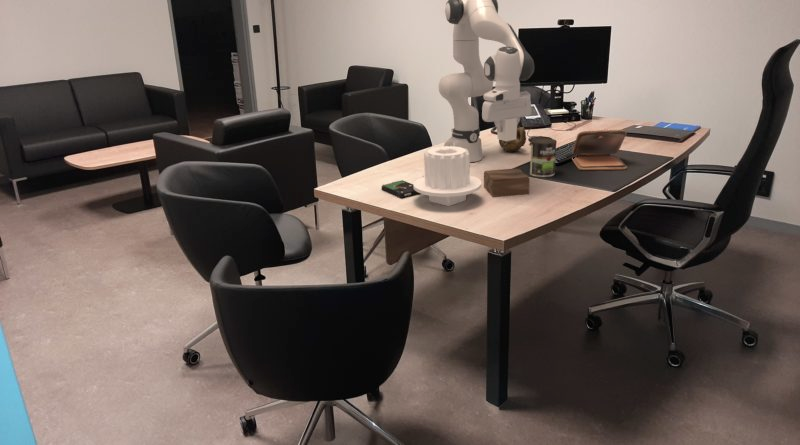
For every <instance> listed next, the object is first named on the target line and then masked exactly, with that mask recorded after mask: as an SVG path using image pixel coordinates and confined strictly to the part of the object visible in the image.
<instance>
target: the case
mask: <svg viewBox="0 0 800 445" xmlns="http://www.w3.org/2000/svg"><path fill="white" fill-rule="evenodd" d="M627 133H628V132H627V130H625V129H609V130H608V129H607V130H606V129H605V130H604V129H601V130H583V131H579V133H577V134H576V135H577V136H576V138H575V140H574V141H575V142H574V143H573V146H572V149H571V150H572V151H571V153H572V155H576V154H577V155H576V156H574V157H575V158H574V159H573V157H571V160H572V162H573V163H574V165H575V167H576V168H577V169H578V170H580V171H625V170H627V169H628V166H627V165H626V164H625V163H624V162H623V161H622V159H620V157H618V156H617V155H614V154H617V153H618V152H619V151H620V149H621V146H622V144H623V142H624V140H625V138H626V136H627ZM577 156H578V157H577Z"/></svg>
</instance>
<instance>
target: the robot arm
mask: <svg viewBox="0 0 800 445" xmlns="http://www.w3.org/2000/svg"><path fill="white" fill-rule="evenodd" d="M498 13H499V4H498V0H447V2H446V3H445V8H444V14H445V17H446V18H445V19H446V21H447V22H448V23H449V24H451V25H453V30H452V31H453V33H452V47H453V48H452V55H453V56H452V57H453V59H454V60H455V62H457V63H458V64H460V65H462V67H463V69H464V70H463V71H464V72H459V73H458V72H457V73H456V72H455V73H450V74H447V75H445V76H442V77H441V78H440V80H439V82H438V91H439V94H440V95H441V97H442V98H443V99H445V100H446V101H447V102H448V104H449V105H450V107H451V109H452V115H453V128H451V132H452V133H451V137H450V138H448V139H447V140H446V141H445V142H444V144H443V147H444V146H453V147H461V148H464V149H467V150H468V151H469V154H470V163H473V162H479V161H481V160H483V158H484V157H485V153H483V148H482V147H483V146H482V139H481V138H480V134H481V132H480V131H481V130H480V126H479V125H480V122H479V121H480V120H479V119H480V118H479V111H478V109H477V108H476V107H475V106H472V105H470V103H469V98H477V97H481V96H483V100H484V102H483V103H482V107H481V110H482V112H481V117H482V120H483V121H484V122H486V123H494V126H495V128H496V132H497V133H498V132H503V127H501V126H500V124H499V123H501V120H504V119H510V118H517V126H518V125H519V123H520V121H521V118H525V117H530V116H531V115H532V101H531V94H530V92H529V91H528V90H524V91H521V82H520V81H523V82H525V81H527V80H529V79H530V78H531V77H532V75H533V74H534V72H535V62H534V59H533V58H532V56H531V55H530V54H529V53H528V51H527V50H526V48H525V47H524V45H523V44H522V42H521V40H520V38H519V36H518V35H517V33H516V31H515V30H514V28H513V27H512V25H511V24H509V23H508V22H506V21H505V20H504V19H503V18H501V16H500V14H498ZM479 38H480V39H483V40H488V41H494V42H497V43H500V44H502V45H505V46H501V47H499V48H498V49H497V51H496V53H495V54H494V55H491V56H488V58H486V60H485V61H484V62H483V63H484V64H483V65H482V61H481V59H480V48H479V46H480V44H479V42H480V40H479ZM494 82H495V88H493V87H494Z"/></svg>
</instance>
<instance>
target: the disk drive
mask: <svg viewBox="0 0 800 445" xmlns="http://www.w3.org/2000/svg"><path fill="white" fill-rule="evenodd" d="M381 191H383V192H385V193H388V194H389V195H392V196H394V197H397V198H398V199H401V200H403V199H406V198H412V197H416V196H418V195H419V196H420V195H422V194H421V193H418V192H417V191H415V190H414V188H413V184H412V183H410V182H408V181H406V180H397V181H392V182H391V183H387V184H382V185H381Z"/></svg>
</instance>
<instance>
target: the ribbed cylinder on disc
mask: <svg viewBox="0 0 800 445" xmlns="http://www.w3.org/2000/svg"><path fill="white" fill-rule="evenodd" d="M423 156H424V157H423V158H424V159H423V160H424V161H423V162H424V166H423V167H424V176H422V177H419V178H418V179H416V180H414V182H413V188H414V190H415V191H417V192H418V193H421V194H420V195H425V196H428V201H429V202H430V203H435V204H438V205H442V206H446V207H451V206H453V205H457V204H459V203H461V202H464V201H466V200H467V195H470V194H473V193H474V194H475V193H476V192H478V191H479V190H481V188H482V180H481V179H479V177H476V176H472V175H470V174H471V173H470V172H471V170H470V166H471V165H470V163H471V162H470V154H469V151H468V150H467V149H464V148H461V147H453V146H444V145H443V146H436V147H430V148H429V149H427V150H425V151H424V153H423Z"/></svg>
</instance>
